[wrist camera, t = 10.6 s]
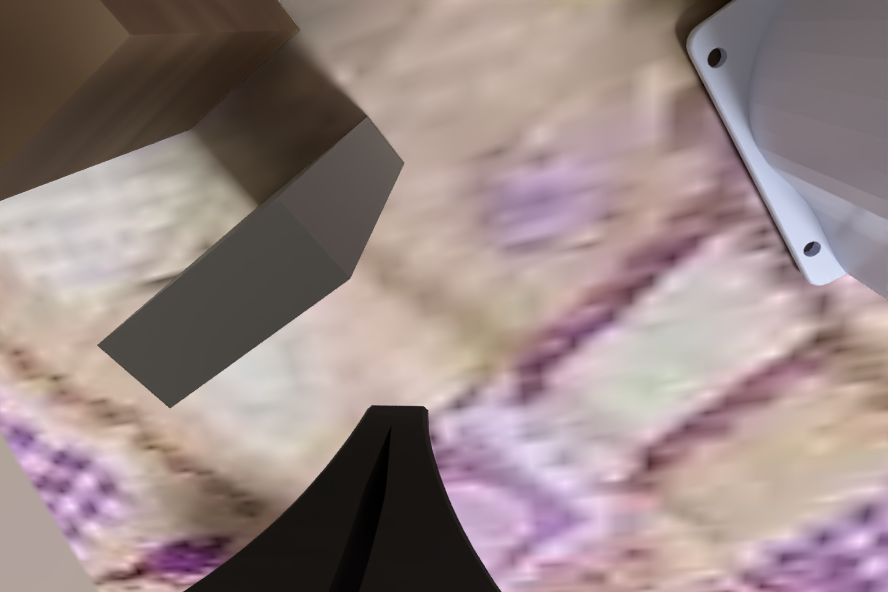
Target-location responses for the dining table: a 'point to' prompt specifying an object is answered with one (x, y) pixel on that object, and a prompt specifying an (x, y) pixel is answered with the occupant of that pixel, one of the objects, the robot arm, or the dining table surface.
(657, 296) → the dining table surface
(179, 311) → the domino
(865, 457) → the dining table surface
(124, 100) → the domino
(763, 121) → the robot arm
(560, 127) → the dining table surface
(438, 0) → the dining table surface
